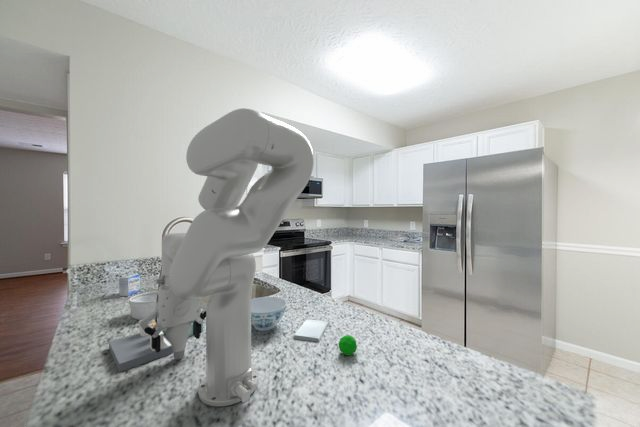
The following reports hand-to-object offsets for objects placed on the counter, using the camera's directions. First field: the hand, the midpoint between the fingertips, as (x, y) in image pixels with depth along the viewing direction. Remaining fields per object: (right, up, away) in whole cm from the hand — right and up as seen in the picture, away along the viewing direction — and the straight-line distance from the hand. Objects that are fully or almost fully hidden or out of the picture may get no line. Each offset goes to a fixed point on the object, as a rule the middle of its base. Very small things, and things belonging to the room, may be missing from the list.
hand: (177, 343), depth 69 cm
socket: (-7, -4, +15) cm, 17 cm away
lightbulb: (+1, -4, 0) cm, 4 cm away
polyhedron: (+46, -4, +2) cm, 46 cm away
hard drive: (+35, -5, +16) cm, 39 cm away
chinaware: (+19, -4, +19) cm, 28 cm away
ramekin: (-27, -4, +30) cm, 41 cm away
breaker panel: (-13, -4, +4) cm, 14 cm away
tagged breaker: (-10, -2, +7) cm, 12 cm away
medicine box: (-53, -4, +55) cm, 77 cm away
